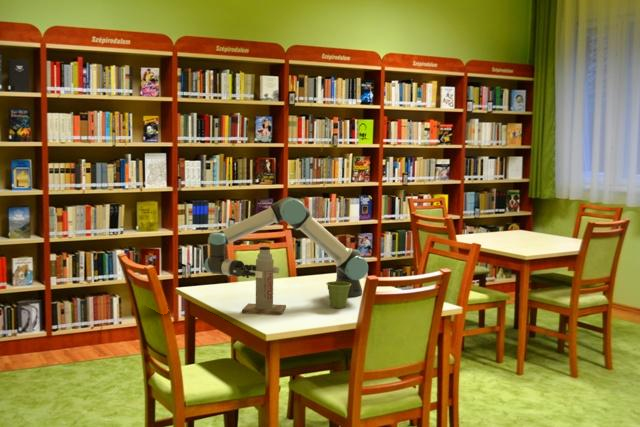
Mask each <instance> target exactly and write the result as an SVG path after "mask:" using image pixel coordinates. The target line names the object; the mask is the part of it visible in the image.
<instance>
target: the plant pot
mask: <svg viewBox="0 0 640 427" xmlns="http://www.w3.org/2000/svg"><path fill="white" fill-rule="evenodd" d="M326 286H327V290H328V297H329V298H328V299H329V305H330V308H333V309H336V308H337V309H345V308H346V307H347V302H348V292H349V289H350V286H351V283H348V282H339V281H336V280H335V281H328V282H326Z"/></svg>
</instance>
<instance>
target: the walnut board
mask: <svg viewBox="0 0 640 427" xmlns="http://www.w3.org/2000/svg"><path fill="white" fill-rule="evenodd" d="M286 309H287V305H286V304H274V303H273V308H271V309H258V308H256V303H252V302H251V303H249V302H248V303H247V304H246V305H245V306H244V307H243V308H242V309H241V313H242V314H248V315H249V314H250V315H251V314H252V315H253V314H254V315H272V316H273V315H274V316H277V315H278V316H282V315H283V313H284V312H285V310H286Z"/></svg>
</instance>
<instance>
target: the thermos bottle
mask: <svg viewBox="0 0 640 427" xmlns="http://www.w3.org/2000/svg"><path fill="white" fill-rule="evenodd" d="M274 262H275V261H274V259H273V254H272V253H271V247H269V246H260V247H259V253H258V254H257V258H256V259H255V265H256V271H260V272H262V278H257V277H255V304H256V308H258V309H271V308H273V304H274V273H273V267H274Z"/></svg>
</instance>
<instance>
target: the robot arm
mask: <svg viewBox="0 0 640 427" xmlns="http://www.w3.org/2000/svg"><path fill="white" fill-rule="evenodd" d="M312 215H313V214H312V211H311V210H310V209H309V208H308V207H307V206H306V205H305V204H304V202H303V201H301V200H299V199H297V198H294V197H291V196H286V197H283V198H282V199H280V200H278V201H277V202H274V203H273V204H270V205H269V206H268V208H267V209H265V210H262V211H260V212H258V213H256V214H254V215H251V216H249V217H247V218H245V219H243V220H241V221H239V222H237V223H235V224H232V225H231V226H227V227H226V228H224V229H222V230H220V231H217V232H212V233H210V234H209V236H208V238H207V245H208V246H209V257H207V258H206V259H205V260H204V261H205V262H204V265H203V267H204V270H205V271H206V272H207V273H211V274H215V275H223V276H224V275H225V276H227V277H230V276H232V277H238V278H239V277H243V278H246V279H249V278H250V277H251V278H256V277H257V278H262V272H260V271H256V264H245V263H244V262H243V261H242V260H236V259H230V258H226V246H227V245H229V244H232V243H233V242H235V241H238V240H241V239H242V238H244V237H246V236H248V235H251V234H252V233H255V232H257V231H259V230H261V229H263V228H265V227H268V226H270V225H272V224H274V223H275V224H279V223H282V222H286V223H287V224H288V225H289V226H290V227H292V228H293V229H294V230H295V231H298V230H299V231H301V232H302V233H303V234H304V235H306V236H307V238H308V239H310V240H311V241H312V242H314V244H315V245H317V246H318V247H319V248H320V249H321V250H322V251H323V252H325V253H326V254H327V256H329V257H330V258H331V259H332V260H333V261H334V264H335V266H336V280H335V281H339V282H348V283H351V286H350V289H349V292H348V297H350V298H351V297H353V298H354V297H360V296H362V295H363V289H362V285H361V282H360V280H361V279H363V278H364V277H365V276H366V275H367V274H368V272H369V264H368V262H367V260H366V259H365V258H364V257H362V256H361V252H360V250H359V249H353V248H352V247H346V246H345V245H344V243H342V242H340V241H339V239H337V237H335V236H334V235H333V234H332V233H331V232H329V231H328V230H327V229H326V228H325V226H323V225H322V224H321V223H320V222H318V221H317V220H316V219H315V218H314V217H313V216H312ZM273 274H280V267H276V266H273ZM348 297H347V298H348Z"/></svg>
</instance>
